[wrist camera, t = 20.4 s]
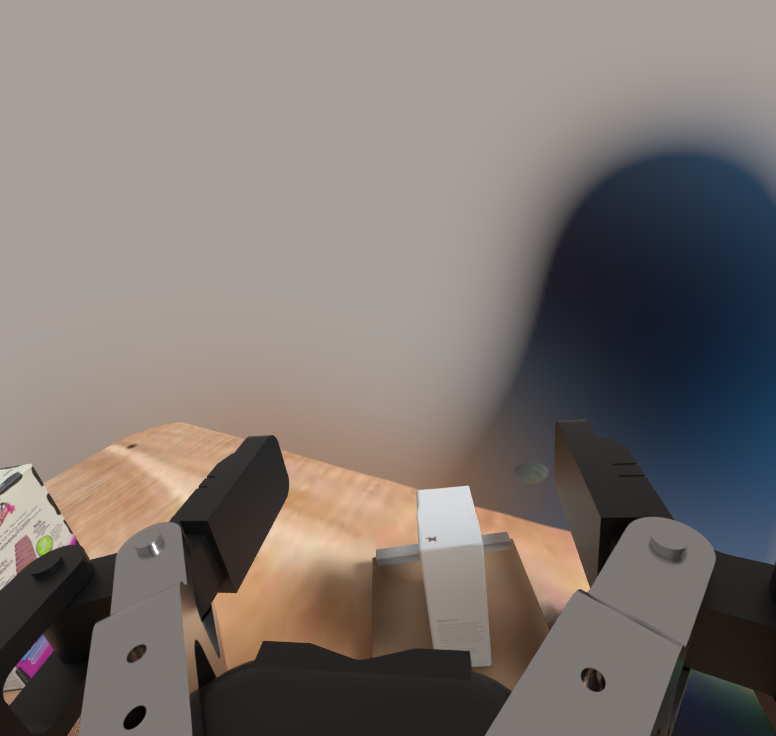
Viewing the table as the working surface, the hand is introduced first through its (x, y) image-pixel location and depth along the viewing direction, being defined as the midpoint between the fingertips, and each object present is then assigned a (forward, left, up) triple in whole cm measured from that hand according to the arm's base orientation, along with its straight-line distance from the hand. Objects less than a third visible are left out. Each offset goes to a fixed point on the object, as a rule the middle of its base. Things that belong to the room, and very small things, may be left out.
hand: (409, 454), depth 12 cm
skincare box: (-2, -13, -26) cm, 29 cm away
